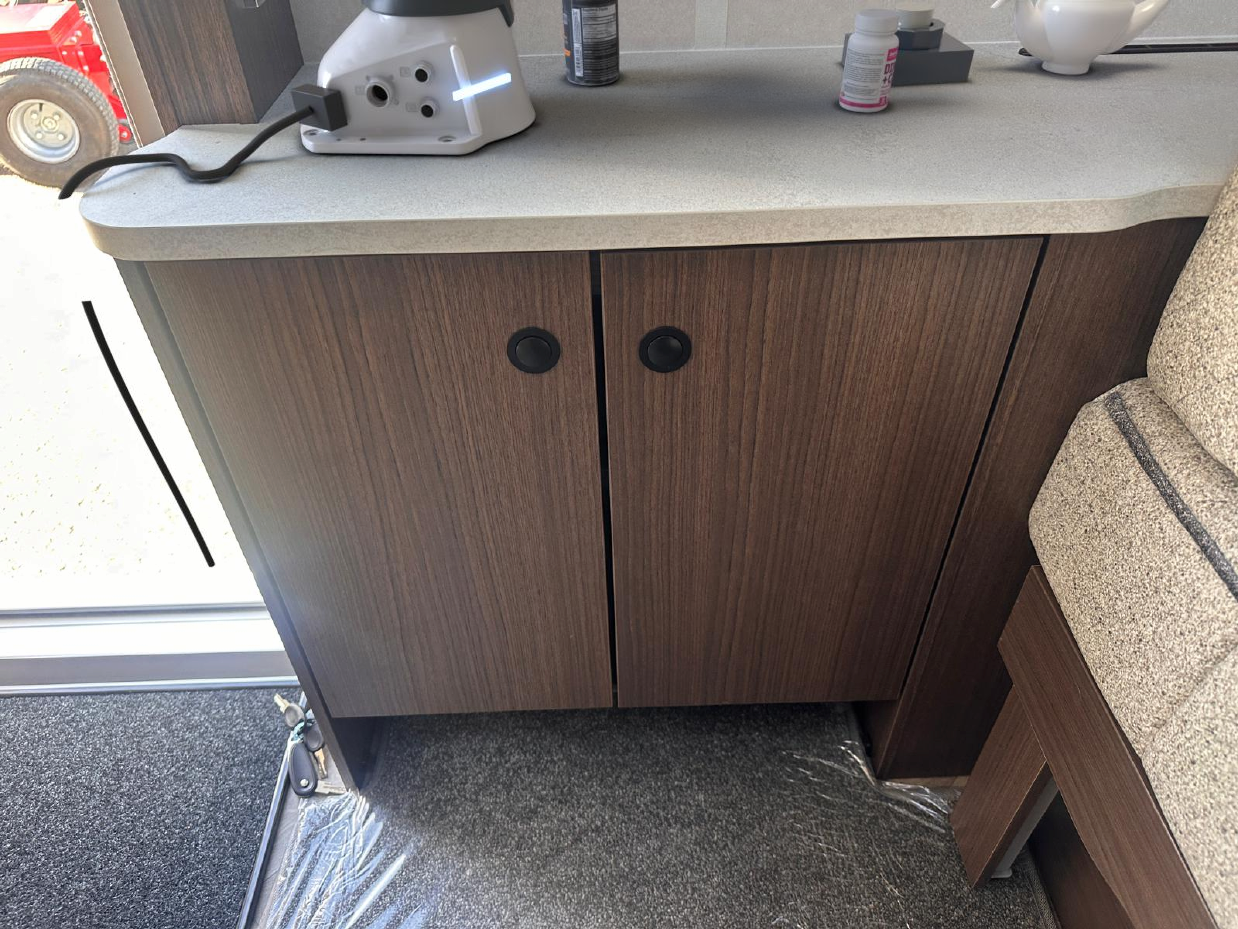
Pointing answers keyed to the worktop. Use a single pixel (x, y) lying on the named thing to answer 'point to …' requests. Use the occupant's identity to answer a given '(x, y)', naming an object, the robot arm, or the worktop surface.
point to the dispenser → (927, 56)
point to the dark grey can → (591, 41)
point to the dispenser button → (914, 14)
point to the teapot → (1079, 29)
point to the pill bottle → (870, 61)
